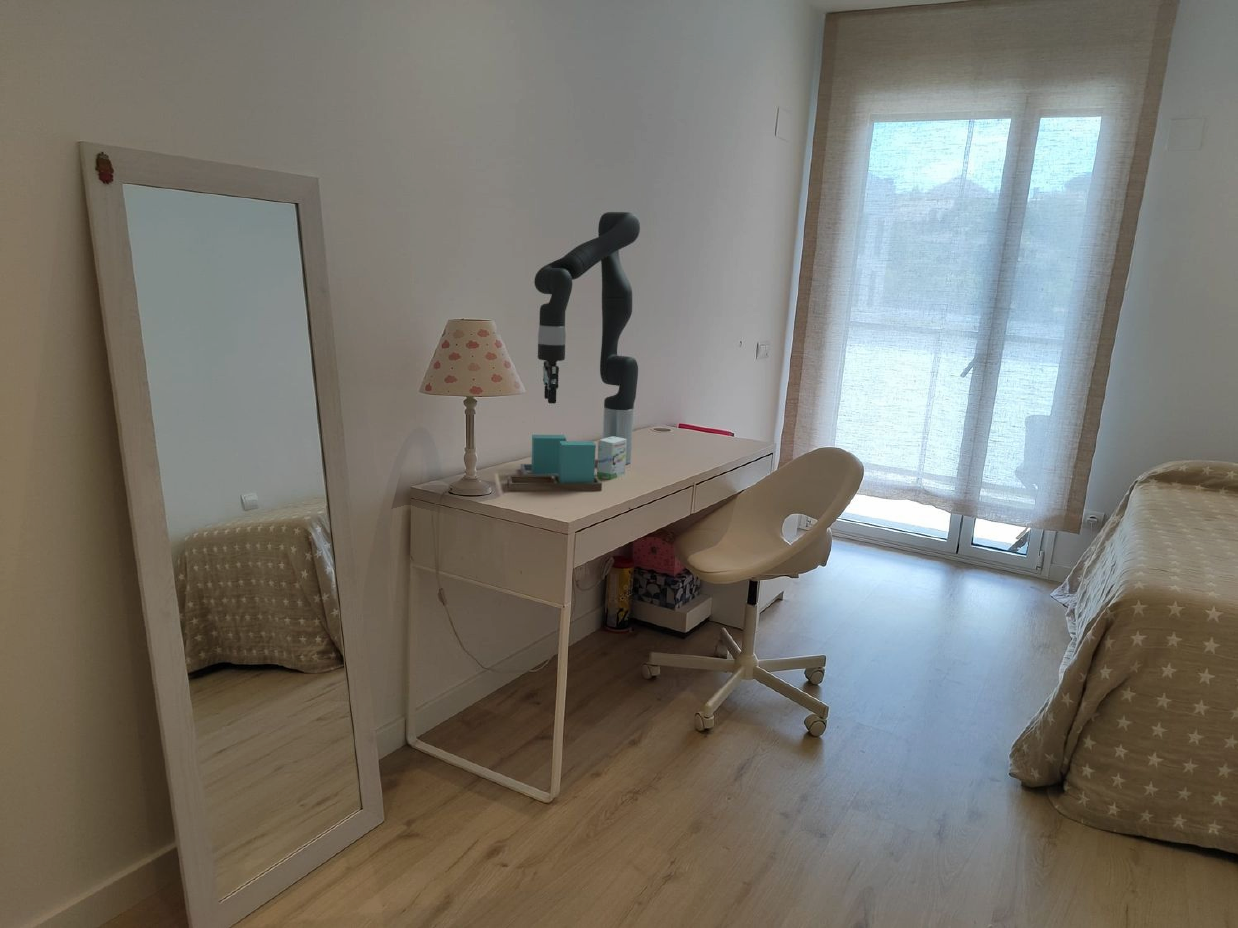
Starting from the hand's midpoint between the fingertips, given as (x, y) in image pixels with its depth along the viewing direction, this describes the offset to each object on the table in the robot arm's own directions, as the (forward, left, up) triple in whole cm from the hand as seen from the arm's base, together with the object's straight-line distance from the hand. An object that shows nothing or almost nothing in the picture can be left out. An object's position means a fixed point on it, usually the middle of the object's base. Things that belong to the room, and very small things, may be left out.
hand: (550, 400), depth 224 cm
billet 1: (0, 0, -22) cm, 22 cm away
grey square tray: (0, 0, -22) cm, 22 cm away
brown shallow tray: (+14, 0, -22) cm, 26 cm away
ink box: (+2, +18, -22) cm, 29 cm away
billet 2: (+14, +6, -21) cm, 26 cm away
